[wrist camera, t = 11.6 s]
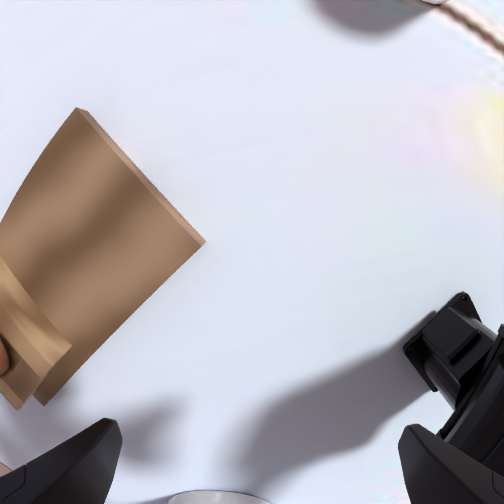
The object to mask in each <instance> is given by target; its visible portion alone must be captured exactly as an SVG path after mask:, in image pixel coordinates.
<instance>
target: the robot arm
mask: <svg viewBox="0 0 504 504" xmlns="http://www.w3.org/2000/svg"><path fill="white" fill-rule="evenodd" d="M463 297H464V299H463ZM462 299H463V300H462ZM498 332H499V333H498V335H497V334H495V333H494V332H493V331H491V330H490V329H489V328H487V327H486V326H485V325H483V324H482V322H481V319H480V317H479V315H478V313H477V311H476V309H475V307H474V305H473V302H472V300H471V298H470V296H469V295H468V294H467V293H466V292H461V293H459V294H458V295H457V296H456V297H455V298H454V299H453V301H452V302H451V303H450V304H449V305H448V306H447V307H445V308H444V309H443V310H442V311H441V312H440V313H439V314H438V315H437V316H436V317H435V318H434V319H433V320H432V321H431V322H430V323H429V324H428V325H427V326H426V327H424V328H423V329H422V330H421V331H420V332H419V333H418V334H417V335H416V336H414V337H413V338H412V339H411V340H410V341H409V342H408V343H406V344H405V346H404V347H403V352H404V354H405V355H406V356H407V358H408V359H409V360H410V362H411V363H412V364H413V366H414V367H415V368H416V370H417V371H418V372H419V374H420V375H421V376H422V378H423V379H424V380H425V382H426V383H427V384H428V386H429V387H430V389H431V390H432V391H433V392H437V391H438V390H439V391H440V393H441V394H442V395H443V397H444V398H445V400H446V401H447V402H448V404H449V405H450V406H451V408H452V409H453V410H454V412H453V414H452V415H451V417H450V418H449V419H448V421H447V422H446V424H445V425H444V426H443V428H442V429H440V430H439V431H438V433H437V434H436V435H435V434H433V433H432V432H430V431H429V430H427V429H426V428H424V427H423V426H421V425H420V424H412V425H407V426H406V427H405V429H404V431H403V433H402V436H401V438H400V440H399V443H398V450H399V455H400V460H401V465H402V470H403V476H404V481H405V485H406V489H407V492H408V495H409V498H410V502H411V504H504V324H501V326H500V328H499V330H498ZM409 348H411V350H409ZM408 350H409V351H408ZM435 386H436V387H435ZM121 446H122V435H121V432H120V429H119V426H118V423H117V421H116V420H113V419H109V418H103V419H101V420H99V421H98V422H96V423H95V424H93V425H91V426H90V427H88V428H86V429H85V430H83V431H82V432H80V433H78V434H77V435H75V436H73V437H72V438H70V439H68V440H67V441H65V442H63V443H62V444H60V445H58V446H56V447H55V448H53V449H51V450H50V451H48V452H46V453H44V454H43V455H41V456H39V457H37V458H36V459H34V460H32V461H30V462H29V463H27V464H26V465H23V466H21V467H19V468H18V469H16V470H14V471H12V472H10V473H8V474H6V475H3V476H1V477H0V504H104V503H105V500H106V497H107V495H108V492H109V489H110V487H111V484H112V481H113V478H114V474H115V470H116V466H117V462H118V458H119V454H120V450H121Z"/></svg>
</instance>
